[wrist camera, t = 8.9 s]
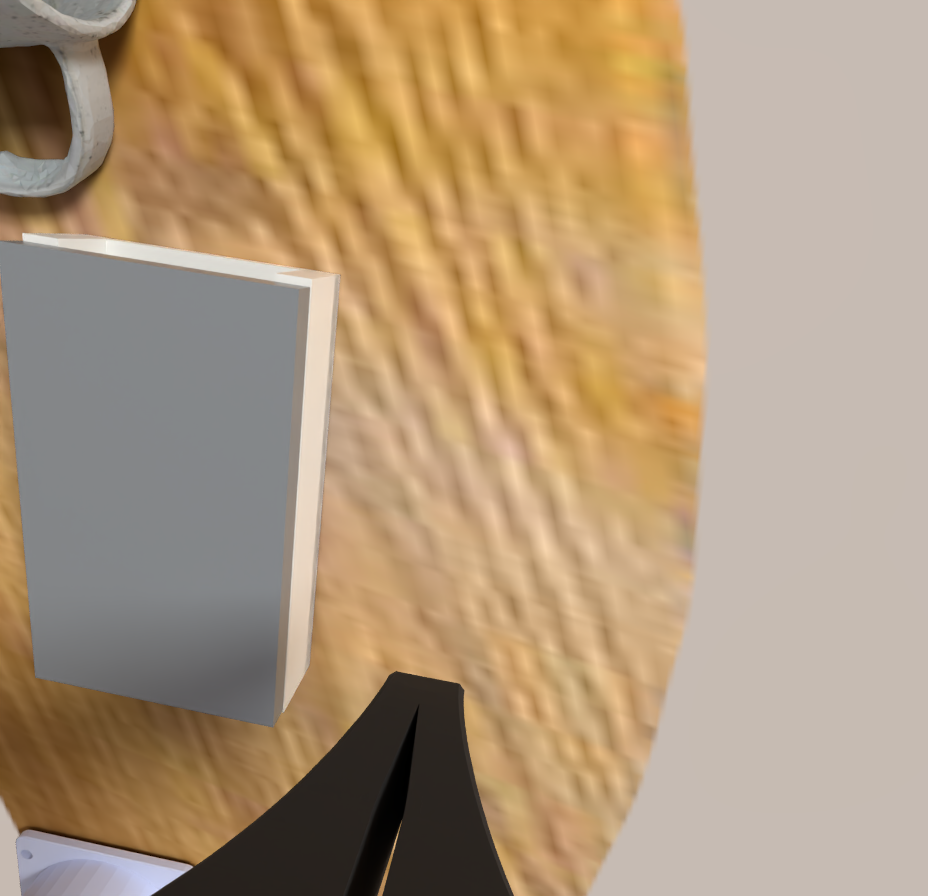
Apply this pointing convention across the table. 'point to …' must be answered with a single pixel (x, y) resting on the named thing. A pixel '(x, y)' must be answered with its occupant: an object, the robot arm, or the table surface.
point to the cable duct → (313, 409)
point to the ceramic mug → (86, 84)
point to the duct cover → (156, 474)
